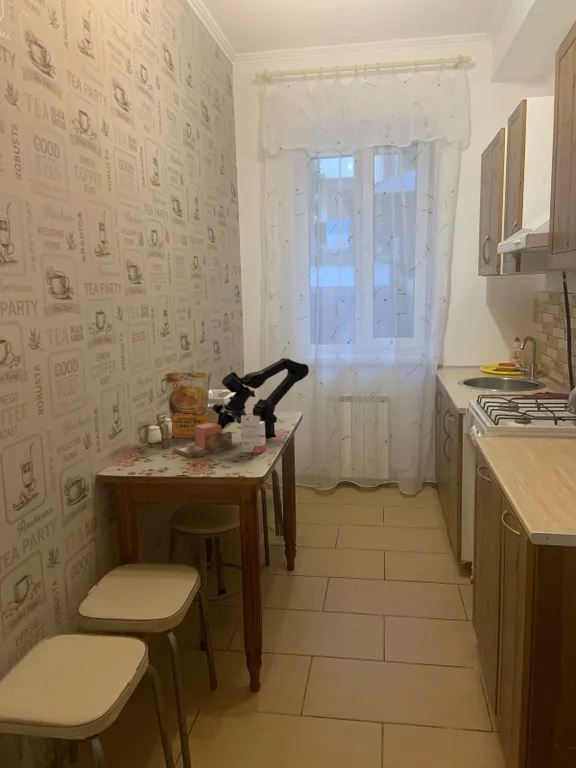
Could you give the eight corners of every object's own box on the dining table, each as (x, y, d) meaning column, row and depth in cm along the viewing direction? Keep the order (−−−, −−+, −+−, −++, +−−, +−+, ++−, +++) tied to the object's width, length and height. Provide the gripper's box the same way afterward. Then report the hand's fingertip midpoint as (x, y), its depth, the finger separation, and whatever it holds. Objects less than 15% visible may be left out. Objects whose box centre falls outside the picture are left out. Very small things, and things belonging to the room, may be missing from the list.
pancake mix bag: (171, 434, 264) (167, 372, 259) (212, 434, 261) (209, 371, 256) (166, 438, 257) (161, 374, 253) (208, 438, 254) (204, 374, 250)
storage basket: (209, 417, 295) (207, 388, 293) (240, 418, 292) (239, 388, 290) (192, 429, 272) (190, 397, 270) (226, 430, 269) (224, 398, 267)
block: (213, 441, 244) (212, 422, 243) (222, 444, 238) (221, 425, 237) (196, 445, 239) (195, 425, 238) (205, 448, 234) (203, 428, 232)
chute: (216, 441, 249) (215, 427, 248) (234, 448, 238) (233, 433, 237) (173, 450, 237) (172, 435, 236) (190, 458, 226) (189, 442, 225)
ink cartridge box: (266, 450, 234) (265, 413, 231) (261, 453, 229) (260, 416, 227) (246, 448, 236) (245, 412, 234) (241, 452, 232) (239, 415, 229)
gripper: (264, 414, 242) (242, 445, 238) (239, 407, 257) (218, 437, 252) (247, 397, 236) (225, 429, 231) (222, 392, 251) (201, 422, 246)
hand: (217, 430), depth 240 cm, fingers closed, pressing on block
